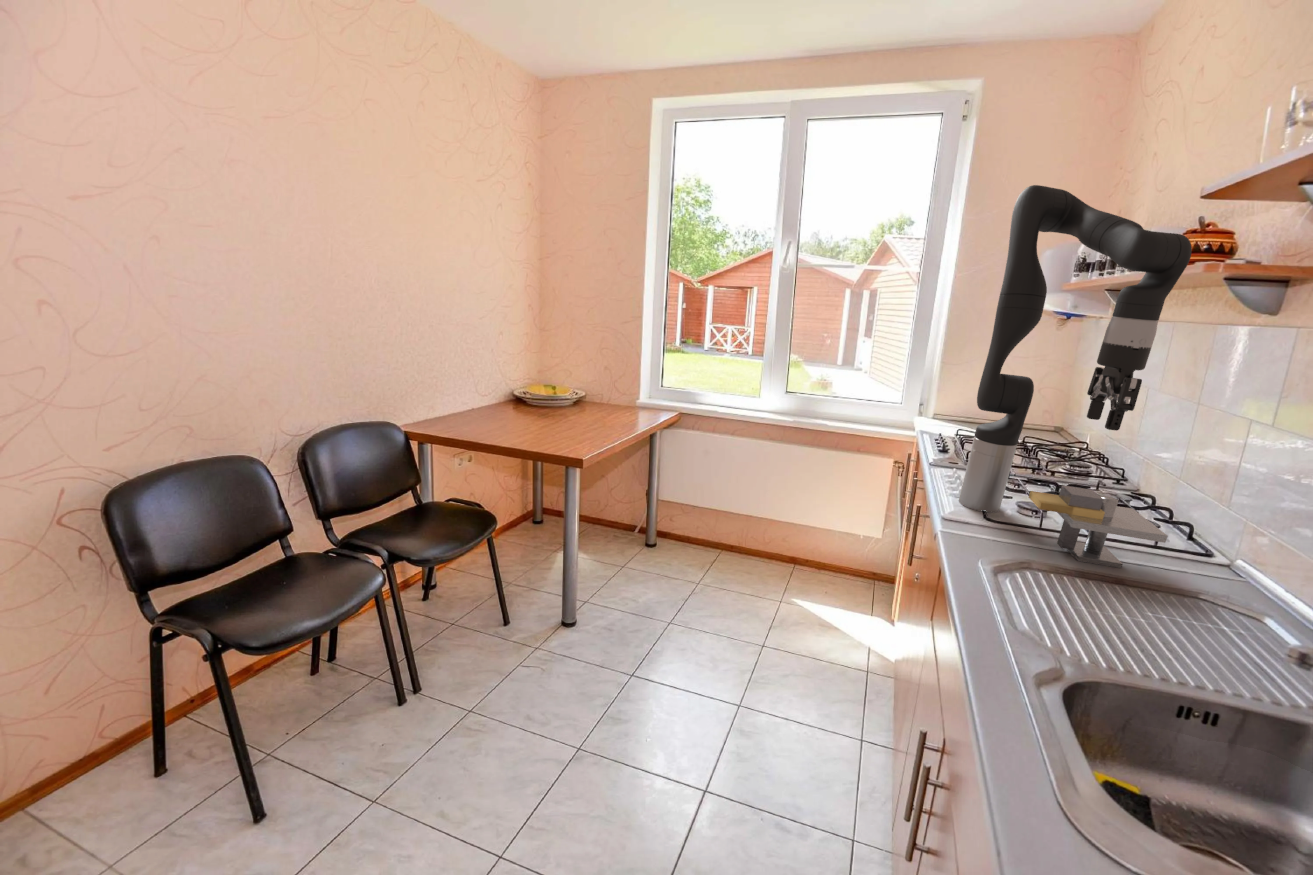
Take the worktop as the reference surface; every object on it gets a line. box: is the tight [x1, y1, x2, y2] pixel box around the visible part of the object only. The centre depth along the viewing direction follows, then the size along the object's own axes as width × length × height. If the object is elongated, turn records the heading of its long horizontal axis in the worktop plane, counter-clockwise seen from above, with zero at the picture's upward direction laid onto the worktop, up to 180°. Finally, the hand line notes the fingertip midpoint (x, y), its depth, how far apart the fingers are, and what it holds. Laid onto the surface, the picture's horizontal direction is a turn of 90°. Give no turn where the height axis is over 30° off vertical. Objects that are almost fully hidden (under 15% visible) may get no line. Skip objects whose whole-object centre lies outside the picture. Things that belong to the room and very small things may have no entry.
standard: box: [1056, 495, 1169, 569], centre depth 121 cm, size 16×14×13 cm
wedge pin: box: [1056, 484, 1103, 550], centre depth 122 cm, size 6×6×12 cm
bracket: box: [1028, 490, 1105, 519], centre depth 122 cm, size 11×7×2 cm, turn 75°
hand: (1101, 424), depth 116 cm, fingers open, 8 cm apart
